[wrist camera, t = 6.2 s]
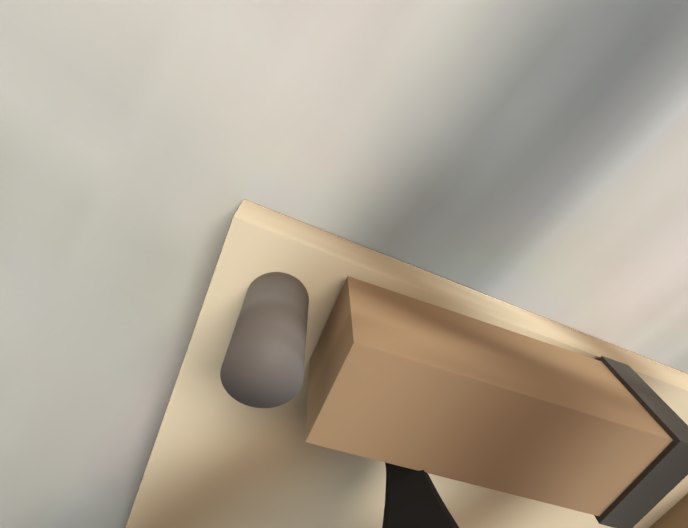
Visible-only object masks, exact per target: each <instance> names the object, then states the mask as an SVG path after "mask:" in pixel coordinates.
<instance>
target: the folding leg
mask: <svg viewBox="0 0 688 528" xmlns="http://www.w3.org/2000/svg"><path fill="white" fill-rule="evenodd" d="M305 442H307V443H310V444H314V445H318V446H322V447H326V448H330V449H334V450H338V451H342V452H346V453H350V454H354V455H358V456H362V457H366V458H370V459H374V460H378V461H382V462H386V463H390V464H394V465H397V466H401V467H405V468H409V469H413V470H417V471H420V470H424V472H427V473H429V474H433V475H437V476H441V477H445V478H449V479H453V480H457V481H461V482H465V483H469V484H473V485H477V486H481V487H485V488H488V489H492V490H496V491H500V492H504V493H508V494H512V495H516V496H520V497H524V498H528V499H532V500H536V501H540V502H544V503H548V504H552V505H556V506H560V507H564V508H568V509H572V510H576V511H579V512H583V513H587V514H591V515H594V516H595V518H596V519H597V521H598V523H599V524H602V525H606V526H610V527H614V528H633V527H634V526H635V525H636V524H637V523H638V522H639V521H640V520H641V519H642V518H643V517H644V516H645V515H647V514H648V513H649V512H650V511H651V510H652V509H653V508H654V507H655V506H656V505H657V504H658V503H659V502H660V501H661V500H662V499H663V498H664V497H665V496H666V495H667V494H668V493H669V492H670V491H671V490H672V489H674V488H675V487H676V486H677V485H678V484H679V483H680V482H681V481H682V480H683V479H684V478H685V477H686V476H687V475H688V425H687V424H686V423H685V422H684V421H683V420H682V419H681V418H680V417H679V416H678V415H677V414H676V413H675V412H674V411H673V410H672V409H671V408H670V407H669V406H668V405H667V404H666V403H665V402H664V401H663V400H662V399H661V398H660V397H659V396H658V395H657V394H656V393H655V392H654V391H653V390H652V389H651V388H650V387H649V385H648V384H647V383H646V382H645V381H644V380H643V379H642V378H641V377H640V376H639V375H638V374H637V373H636V372H635V371H634V370H633V369H632V368H631V367H630V366H629V365H627V364H624V363H621V362H618V361H615V360H612V359H610V358H607V357H604V356H601V358H600V359H599V360H596V359H593V358H590V357H587V356H584V355H581V354H578V353H575V352H572V351H569V350H566V349H563V348H560V347H557V346H554V345H551V344H548V343H545V342H542V341H539V340H536V339H533V338H530V337H527V336H524V335H521V334H518V333H515V332H512V331H509V330H507V329H504V328H501V327H498V326H495V325H492V324H489V323H486V322H483V321H480V320H477V319H474V318H471V317H468V316H465V315H462V314H459V313H456V312H453V311H450V310H447V309H444V308H441V307H438V306H435V305H432V304H429V303H426V302H423V301H420V300H417V299H414V298H411V297H408V296H406V295H403V294H400V293H397V292H394V291H391V290H388V289H385V288H382V287H379V286H376V285H373V284H370V283H367V282H364V281H361V280H358V279H355V278H352V277H349V276H347V278H346V281H345V283H344V285H343V287H342V289H341V292H340V294H339V296H338V298H337V301H336V303H335V305H334V307H333V310H332V312H331V314H330V316H329V319H328V321H327V323H326V325H325V328H324V330H323V332H322V334H321V337H320V339H319V341H318V343H317V346H316V348H315V350H314V352H313V355H312V357H311V359H310V368H309V385H308V403H307V421H306V439H305Z"/></svg>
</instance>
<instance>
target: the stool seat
mask: <svg viewBox="0 0 688 528" xmlns="http://www.w3.org/2000/svg"><path fill="white" fill-rule="evenodd" d="M347 276H349V277H352V278H355V279H358V280H361V281H364V282H367V283H370V284H373V285H376V286H379V287H382V288H385V289H388V290H391V291H394V292H397V293H400V294H403V295H406V296H408V297H411V298H414V299H417V300H420V301H423V302H426V303H429V304H432V305H435V306H438V307H441V308H444V309H447V310H450V311H453V312H456V313H459V314H462V315H465V316H468V317H471V318H474V319H477V320H480V321H483V322H486V323H489V324H492V325H495V326H498V327H501V328H504V329H507V330H509V331H512V332H515V333H518V334H521V335H524V336H527V337H530V338H533V339H536V340H539V341H542V342H545V343H548V344H551V345H554V346H557V347H560V348H563V349H566V350H569V351H572V352H575V353H578V354H581V355H584V356H587V357H590V358H593V359H596V360H599V359H600V358H601V356H604V357H607V358H610V359H612V360H615V361H618V362H621V363H624V364H627V365H629V366H630V367H631V368H632V369H633V370H634V371H635V372H636V373H637V374H638V375H639V376H640V377H641V378H642V379H643V380H644V381H645V382H646V383H647V384H648V385H649V387H650V388H651V389H652V390H653V391H654V392H655V393H656V394H657V395H658V396H659V397H660V398H661V399H662V400H663V401H664V402H665V403H666V404H667V405H668V406H669V407H670V408H671V409H672V410H673V411H674V412H675V413H676V414H677V415H678V416H679V417H680V418H681V419H682V420H683V421H684V422H685V423H686V424H687V425H688V374H686V373H683V372H681V371H678V370H676V369H673V368H671V367H668V366H665V365H663V364H660V363H658V362H655V361H653V360H650V359H648V358H645V357H643V356H640V355H638V354H635V353H632V352H630V351H627V350H625V349H622V348H620V347H617V346H615V345H612V344H610V343H607V342H605V341H602V340H599V339H597V338H594V337H592V336H589V335H587V334H584V333H582V332H579V331H577V330H574V329H572V328H569V327H566V326H564V325H561V324H559V323H556V322H554V321H551V320H549V319H546V318H544V317H541V316H539V315H536V314H534V313H531V312H528V311H526V310H523V309H521V308H518V307H516V306H513V305H511V304H508V303H506V302H503V301H501V300H498V299H495V298H493V297H490V296H488V295H485V294H483V293H480V292H478V291H475V290H473V289H470V288H468V287H465V286H462V285H460V284H457V283H455V282H452V281H450V280H447V279H445V278H442V277H440V276H437V275H435V274H432V273H429V272H427V271H424V270H422V269H419V268H417V267H414V266H412V265H409V264H407V263H404V262H402V261H399V260H396V259H394V258H391V257H389V256H386V255H384V254H381V253H379V252H376V251H374V250H371V249H369V248H366V247H363V246H361V245H358V244H356V243H353V242H351V241H348V240H346V239H343V238H341V237H338V236H336V235H333V234H331V233H328V232H325V231H323V230H320V229H318V228H315V227H313V226H310V225H308V224H305V223H303V222H300V221H298V220H295V219H292V218H290V217H287V216H285V215H282V214H280V213H277V212H275V211H272V210H270V209H267V208H265V207H262V206H259V205H257V204H254V203H252V202H249V201H247V200H243V201H242V203H241V205H240V206H239V208H238V210H237V212H236V213H235V215H234V217H233V219H232V222H231V225H230V228H229V231H228V234H227V237H226V240H225V242H224V245H223V248H222V251H221V254H220V257H219V260H218V263H217V266H216V268H215V271H214V274H213V277H212V280H211V283H210V286H209V289H208V291H207V294H206V297H205V300H204V303H203V306H202V309H201V312H200V314H199V317H198V320H197V323H196V326H195V329H194V332H193V335H192V338H191V340H190V343H189V346H188V349H187V352H186V355H185V358H184V361H183V363H182V366H181V369H180V372H179V375H178V378H177V381H176V384H175V386H174V389H173V392H172V395H171V398H170V401H169V404H168V407H167V410H166V412H165V415H164V418H163V421H162V424H161V427H160V430H159V433H158V435H157V438H156V441H155V444H154V447H153V450H152V453H151V456H150V458H149V461H148V464H147V467H146V470H145V473H144V476H143V479H142V482H141V484H140V487H139V490H138V493H137V496H136V499H135V502H134V505H133V507H132V510H131V513H130V516H129V519H128V522H127V525H126V528H382V526H383V516H384V506H385V490H386V466H385V462H382V461H378V460H374V459H370V458H366V457H362V456H358V455H354V454H350V453H346V452H342V451H338V450H334V449H330V448H326V447H322V446H318V445H314V444H310V443H307V442H305V439H306V421H307V403H308V385H309V368H310V359H311V357H312V355H313V352H314V350H315V348H316V346H317V343H318V341H319V339H320V337H321V334H322V332H323V330H324V328H325V325H326V323H327V321H328V319H329V316H330V314H331V312H332V310H333V307H334V305H335V303H336V301H337V298H338V296H339V294H340V292H341V289H342V287H343V285H344V283H345V281H346V278H347ZM428 475H429V477H430V479H431V480H432V482H433V484H434V486H435V488H436V490H437V492H438V493H439V495H440V497H441V499H442V500H443V502H444V504H445V505H446V507H447V509H448V510H449V512H450V514H451V515H452V517H453V518H454V520H455V522H456V523H457V525H458V527H459V528H614V527H610V526H606V525H602V524H599V523H598V521H597V519H596V518H595V516H594V515H591V514H587V513H583V512H579V511H576V510H572V509H568V508H564V507H560V506H556V505H552V504H548V503H544V502H540V501H536V500H532V499H528V498H524V497H520V496H516V495H512V494H508V493H504V492H500V491H496V490H492V489H488V488H485V487H481V486H477V485H473V484H469V483H465V482H461V481H457V480H453V479H449V478H445V477H441V476H437V475H433V474H429V473H428ZM633 528H688V475H687V476H686V477H685V478H684V479H683V480H682V481H681V482H680V483H679V484H678V485H677V486H676V487H675V488H674V489H672V490H671V491H670V492H669V493H668V494H667V495H666V496H665V497H664V498H663V499H662V500H661V501H660V502H659V503H658V504H657V505H656V506H655V507H654V508H653V509H652V510H651V511H650V512H649V513H648V514H647V515H645V516H644V517H643V518H642V519H641V520H640V521H639V522H638V523H637V524H636V525H635V526H634V527H633Z"/></svg>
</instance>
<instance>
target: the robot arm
mask: <svg viewBox="0 0 688 528" xmlns="http://www.w3.org/2000/svg"><path fill="white" fill-rule="evenodd" d="M385 466H386V490H385V506H384V516H383V526H382V528H459V527H458V525H457V523H456V522H455V520H454V518H453V517H452V515H451V514H450V512H449V510H448V509H447V507H446V505H445V504H444V502H443V500H442V499H441V497H440V495H439V493H438V492H437V490H436V488H435V486H434V484H433V482H432V480H431V479H430V477H429V475H428V473H427V472H424V470H420V471H417V470H413V469H409V468H405V467H401V466H397V465H394V464H390V463H386V462H385Z"/></svg>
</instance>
